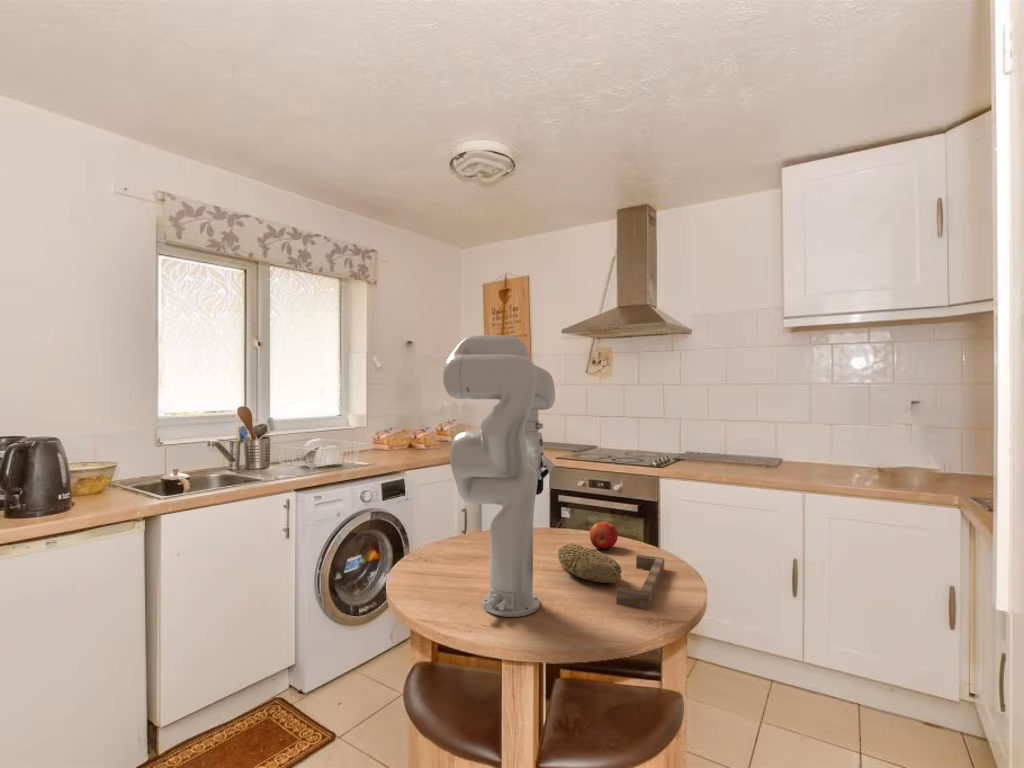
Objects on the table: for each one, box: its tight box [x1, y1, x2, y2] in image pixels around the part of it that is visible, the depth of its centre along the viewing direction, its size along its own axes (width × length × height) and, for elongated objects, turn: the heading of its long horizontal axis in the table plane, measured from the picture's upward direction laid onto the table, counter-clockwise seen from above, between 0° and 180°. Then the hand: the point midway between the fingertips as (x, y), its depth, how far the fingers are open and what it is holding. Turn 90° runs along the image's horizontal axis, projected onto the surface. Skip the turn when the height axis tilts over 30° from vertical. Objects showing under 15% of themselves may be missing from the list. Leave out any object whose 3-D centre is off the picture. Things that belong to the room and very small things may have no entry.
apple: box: [589, 520, 619, 551], centre depth 152 cm, size 8×8×8 cm
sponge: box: [557, 543, 622, 584], centre depth 130 cm, size 13×8×20 cm
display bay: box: [615, 554, 665, 610], centre depth 124 cm, size 27×7×3 cm, turn 156°
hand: (524, 492), depth 137 cm, fingers open, 7 cm apart
